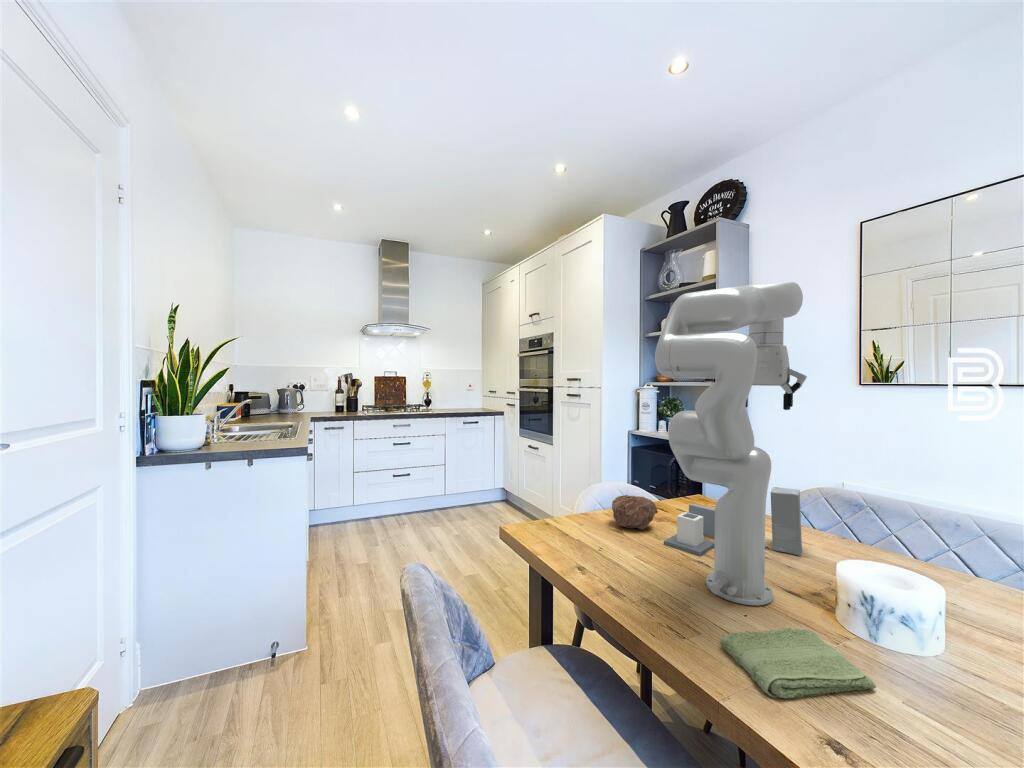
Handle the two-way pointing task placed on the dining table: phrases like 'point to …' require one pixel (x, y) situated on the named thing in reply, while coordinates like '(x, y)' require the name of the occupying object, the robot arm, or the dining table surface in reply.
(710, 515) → the screen
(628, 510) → the decorative rock
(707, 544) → the mat
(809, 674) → the washcloth
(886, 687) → the dining table surface
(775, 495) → the skincare box
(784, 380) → the robot arm
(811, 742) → the dining table surface
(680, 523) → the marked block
